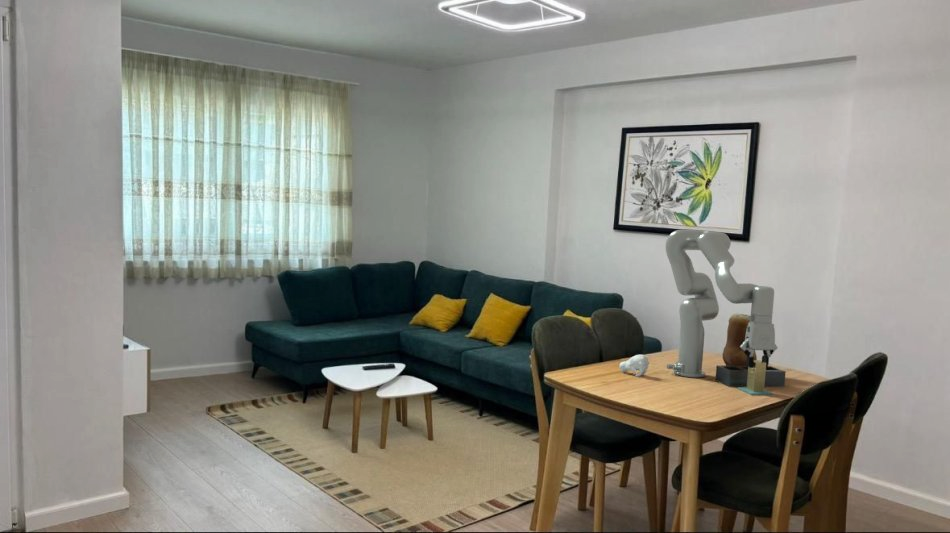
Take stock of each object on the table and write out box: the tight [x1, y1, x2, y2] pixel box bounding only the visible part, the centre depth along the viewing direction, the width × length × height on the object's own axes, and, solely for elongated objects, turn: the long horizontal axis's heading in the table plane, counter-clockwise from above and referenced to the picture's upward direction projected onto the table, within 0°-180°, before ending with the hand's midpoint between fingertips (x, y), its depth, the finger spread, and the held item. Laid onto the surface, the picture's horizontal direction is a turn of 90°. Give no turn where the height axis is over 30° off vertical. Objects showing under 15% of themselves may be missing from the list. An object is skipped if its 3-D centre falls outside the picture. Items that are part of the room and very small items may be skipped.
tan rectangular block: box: [747, 359, 766, 392], centre depth 271 cm, size 4×4×11 cm
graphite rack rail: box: [715, 365, 787, 388], centre depth 285 cm, size 24×10×6 cm, turn 102°
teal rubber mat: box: [737, 387, 774, 396], centre depth 272 cm, size 9×9×1 cm
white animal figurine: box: [619, 354, 650, 378], centre depth 291 cm, size 6×8×12 cm
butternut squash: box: [722, 312, 758, 366], centre depth 304 cm, size 14×13×25 cm
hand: (757, 366), depth 271 cm, fingers open, 5 cm apart
